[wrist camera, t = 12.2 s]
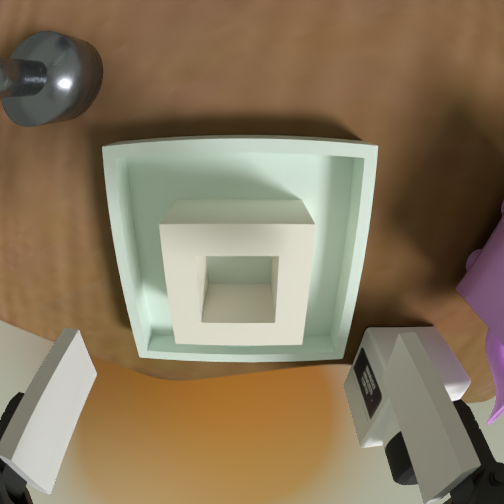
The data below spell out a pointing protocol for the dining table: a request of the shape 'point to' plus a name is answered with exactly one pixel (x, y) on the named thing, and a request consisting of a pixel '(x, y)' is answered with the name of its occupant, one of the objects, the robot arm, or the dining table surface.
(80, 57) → the dark grey stemmed piece
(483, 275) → the teapot
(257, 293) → the cream square-holed block
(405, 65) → the dining table surface
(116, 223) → the tray
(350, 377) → the container
